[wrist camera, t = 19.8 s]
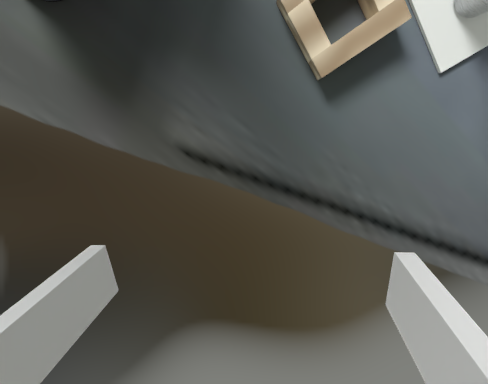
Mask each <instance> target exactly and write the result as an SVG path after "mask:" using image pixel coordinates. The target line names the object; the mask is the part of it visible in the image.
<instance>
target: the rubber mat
mask: <svg viewBox="0 0 488 384" xmlns="http://www.w3.org/2000/svg"><path fill="white" fill-rule="evenodd" d="M408 1H409V3H410V6H411V8H412V10H413V13H414V15H415V18H416V20H417V23H418V25H419V27H420V30H421V32H422V35H423V37H424V40H425V42H426V45H427V47H428V49H429V52H430V54H431V57H432V59H433V62H434V64H435V66H436V69H437V71H438V73H442V72H443V71H445V70H447V69H449V68H450V67H452V66H454V65H455V64H457V63H459V62H461V61H462V60H464V59H466V58H467V57H469V56H471V55H473V54H474V53H476V52H478V51H479V50H481V49H483V48H484V47H486V46H488V12H486V13H483V14H481V15H479V16H476V17H472V18H467V17H463V16H461V15H460V14H459V13H458V12H457V10H456V8H455V5H454V0H408Z"/></svg>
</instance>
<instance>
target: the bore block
mask: <svg viewBox="0 0 488 384" xmlns="http://www.w3.org/2000/svg"><path fill="white" fill-rule="evenodd" d="M315 1H316V0H277V6H278V8H279V9H280V11H281V13H282V15H283V17H284V19H285V21H286V23H287V24H288V26H289V28H290V30H291V32H292V34H293V36H294V38H295V39H296V41H297V43H298V45H299V47H300V49H301V51H302V53H303V54H304V56H305V58H306V60H307V62H308V64H309V66H310V68H311V69H312V71H313V73H314V75H315V77H316V79H317V80H319V79H321V78H323V77H324V76H326V75H327V74H328V73H330V72H331V71H333V70H334V69H336V68H337V67H339V66H340V65H342V64H343V63H345V62H346V61H348V60H349V59H351V58H352V57H354V56H355V55H357V54H358V53H360V52H361V51H363V50H364V49H366V48H367V47H369V46H370V45H372V44H373V43H375V42H376V41H378V40H379V39H381V38H382V37H384V36H385V35H387V34H388V33H390V32H391V31H393V30H394V29H396V28H397V27H399V26H400V25H402V24H403V23H405V22H406V21H408V20H409V19H410V18H412V17H411V14H410V12H409V10H408V7H407V5H406V2H405V0H358V3H359V5H360V7H361V9H362V11H363V14H364V16H365V18H366V21H365V22H363V23H362V24H360V25H359V26H358V27H356V28H355V29H353V30H352V31H351V32H349V33H348V34H346V35H345V36H343V37H342V38H341V39H339V40H338V41H336V42H335V43H334V44H332V45H331V44H330V42H329V40H328V38H327V36H326V34H325V32H324V30H323V28H322V26H321V24H320V22H319V20H318V18H317V16H316V14H315V12H314V10H313V8H312V6H311V4H312V3H313V2H315Z"/></svg>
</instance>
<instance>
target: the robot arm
mask: <svg viewBox="0 0 488 384" xmlns="http://www.w3.org/2000/svg"><path fill="white" fill-rule="evenodd" d="M45 1H59V0H45ZM117 292H118V287H117V284H116V280H115V277H114V274H113V270H112V267H111V263H110V260H109V257H108V253H107V250H106V247H105V245H91V246H89V247H88V248H87V249H86V250H85V251H83V252H82V253H80V254H79V255H78V256H77V257H75V258H74V259H73V260H71V261H70V262H69V263H68V264H66V265H65V266H64V267H62V268H61V269H60V270H59V271H57V272H56V273H55V274H53V275H52V276H51V277H49V278H48V279H47V280H46V281H45V282H43V283H42V284H40V285H39V286H38V287H37V288H35V289H34V290H33V291H31V292H30V293H29V294H28V295H26V296H25V297H24V298H22V299H21V300H20V301H19V302H17V303H16V304H15V305H13V306H12V307H11V308H9V309H8V310H7V311H6V312H4V313H2V314H1V315H0V384H40V383H41V382H42V381H43V379H44V378H45V377H46V376H47V375H48V373H49V372H50V371H51V370H52V369H53V367H54V366H55V365H56V364H57V363H58V362H59V360H60V359H61V358H62V357H63V356H64V355H65V353H66V352H67V351H68V350H69V349H70V347H71V346H72V345H73V344H74V343H75V341H76V340H77V339H78V338H79V337H80V335H81V334H82V333H83V332H84V331H85V330H86V328H87V327H88V326H89V325H90V324H91V322H92V321H93V320H94V319H95V318H96V317H97V315H98V314H99V313H100V312H101V311H102V309H103V308H104V307H105V306H106V304H108V302H109V301H110V300H111V299H112V298H113V296H114V295H115V294H116V293H117ZM385 305H386V307H387V309H388V311H389V313H390V315H391V317H392V319H393V321H394V323H395V324H396V326H397V329H398V331H399V333H400V335H401V336H402V338H403V340H404V342H405V344H406V346H407V348H408V350H409V352H410V354H411V356H412V358H413V360H414V362H415V364H416V366H417V368H418V370H419V372H420V374H421V376H422V378H423V380H424V382H425V384H488V337H487V336H486V334H485V333H484V332H483V331H482V330H481V329H480V328H479V326H478V325H477V324H476V323H475V322H474V321H473V319H472V318H471V317H470V316H469V315H468V314H467V313H466V311H465V310H464V309H463V308H462V307H461V306H460V304H459V303H458V302H457V301H456V300H455V299H454V298H453V296H452V295H451V294H450V293H449V292H448V291H447V290H446V289H445V287H444V286H443V285H442V284H441V283H440V281H439V280H438V279H437V278H436V277H435V276H434V275H433V273H432V272H431V271H430V270H429V269H428V268H427V267H426V265H425V264H424V263H423V262H422V261H421V259H420V258H419V257H418V256H417V255H416V254H415V253H401V252H394V257H393V263H392V269H391V275H390V282H389V287H388V293H387V299H386V304H385Z"/></svg>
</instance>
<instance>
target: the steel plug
mask: <svg viewBox="0 0 488 384" xmlns="http://www.w3.org/2000/svg"><path fill="white" fill-rule="evenodd" d="M454 5H455V8H456V10H457V12H458V13H459V14H460V15H461V16H463V17H467V18H472V17H476V16H479V15H481V14H483V13H486V12H488V0H454Z"/></svg>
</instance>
